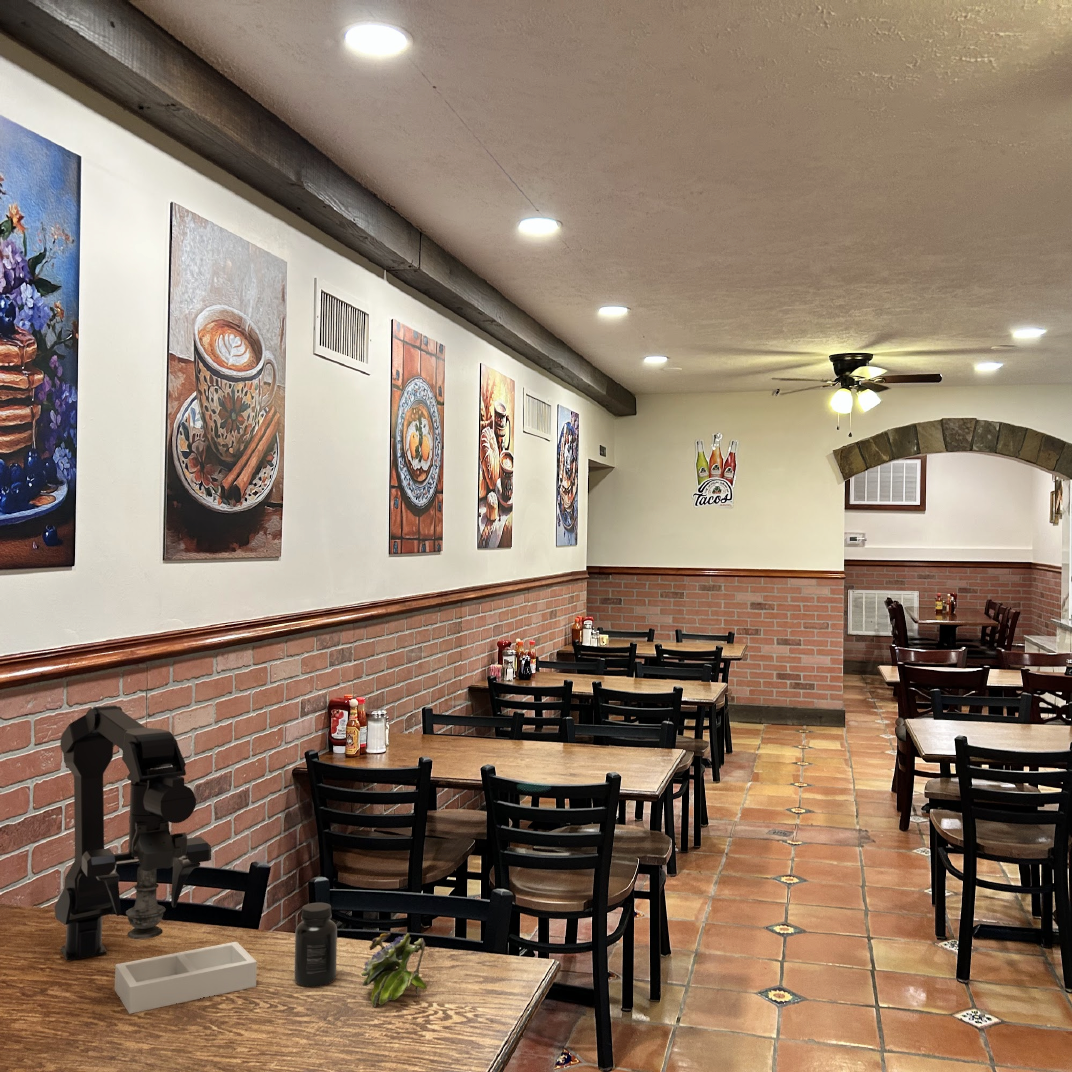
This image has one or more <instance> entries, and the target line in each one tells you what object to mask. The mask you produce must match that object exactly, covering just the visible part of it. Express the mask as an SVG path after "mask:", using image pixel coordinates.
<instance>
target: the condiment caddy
mask: <svg viewBox="0 0 1072 1072" xmlns="http://www.w3.org/2000/svg"><path fill="white" fill-rule="evenodd" d="M257 964H258V961H257V960H256V959H255V958H254V957H253V956H252V954H251V955H250V953H249V952H248V951H247V950H246V949H245V948H244V947H243V946H242V945H240V944H239V942H238V941H233V942H227V943H222V944H218V945H217V944H216V945H212V946H206V947H205V946H204V947H201V948H195V949H190V950H186V951H180V952H174V953H168V954H163V955H159V956H153V957H147V958H143V959H136V960H132V961H127V962H121V963H116V964H115V965H114V966H115V968H114V971H115V972H114V991H115V993H116V994H117V997H120V998H119V999H120V1001H121V1003H122V1004H123V1006H124V1007H125V1009H126V1010H127V1013H128V1014H129V1015H131V1014H135V1013H140V1012H144V1011H150V1010H155V1009H159V1008H162V1007H167V1006H172V1005H176V1003H177V1004H181V1003H186V1002H187V1003H188V1002H191V1001H195V1000H199V999H200V998H201V999H204V998H203V997H205V998H210V997H214V995H215V996H218V995H224V994H227V993H232V992H237V991H242V990H245V989H251V988H256V987H257V969H258V968H257ZM209 996H210V997H209Z"/></svg>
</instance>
